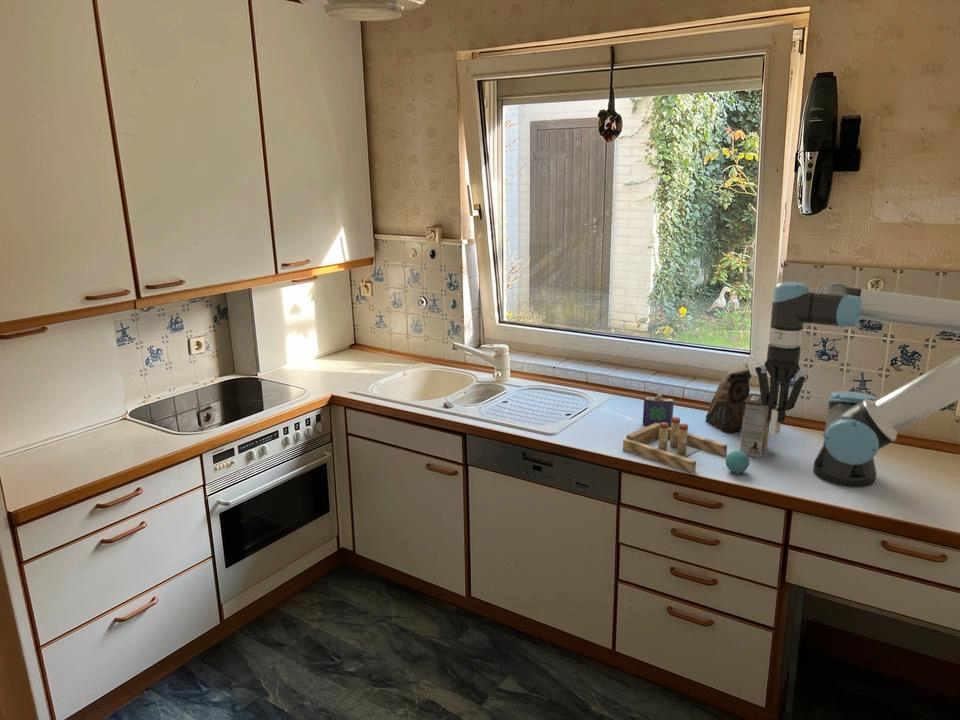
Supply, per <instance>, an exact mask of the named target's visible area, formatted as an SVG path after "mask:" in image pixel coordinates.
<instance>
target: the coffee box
mask: <svg viewBox="0 0 960 720" xmlns="http://www.w3.org/2000/svg"><path fill="white" fill-rule="evenodd" d="M768 410H769V408H768V406H766V405H763V404H762V401H761V393H752V392H751V393H750V392H749V396H748V397H747V399H746V400H745V402H744V412H743V423H742V430H741V435H740V444H739V445H740V447H739V451H741V452H743V453H745V454H746V455H747V456H751V457H756V458H763V457H764V455H765V452H766V450H767V448H768V445H769V436H770V435H769V431H770V422H771V420H768Z"/></svg>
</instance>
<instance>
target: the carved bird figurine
mask: <svg viewBox="0 0 960 720" xmlns="http://www.w3.org/2000/svg"><path fill="white" fill-rule="evenodd" d="M748 365H749V364H748V363H747V362H746V363H742V364H741V365H738V366H735V367H733V368H732V369H731V370H730V371H728V372H727V373H726V374H724V376H723V377H722V379H721V381H720V382H719V384H718V387H717V388H716V390H715V393H714V395H713V397H712V399H711V401H710V404H709V408H708V410H707V413H706V415H705V420H704V421H705V422H704V423H706V422H707V424H708V423H709V425H710V424H711V426H712V427H714V428H715V429H717V430H719V429H720V430H719V431H721V432H723V433H726V434H729V433H730V434H731V435H732V434H737V433H742V430H741V429H742V423H743V412H744V402H745V400H746V399H747V397H748V396H749V394H750V391H751V388H750V379H751V378H752V374H751V372H750V371H751V370H750V369H749V367H748ZM730 434H729V435H730Z"/></svg>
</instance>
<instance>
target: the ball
mask: <svg viewBox="0 0 960 720" xmlns="http://www.w3.org/2000/svg"><path fill="white" fill-rule="evenodd" d="M725 466H726V467H727V469H728V470H729V472H732V473H734V474H741V473H744V472H746V470H748V467H749V466H750V460H749V456H748V455H746V454H745V453H743V452H741V451H740V450H733V451H731V452H729V453H728V454H727V455H726V458H725Z"/></svg>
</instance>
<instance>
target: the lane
mask: <svg viewBox="0 0 960 720" xmlns="http://www.w3.org/2000/svg"><path fill="white" fill-rule="evenodd" d="M659 430H660V424H659V423H654V424H651V425H649V426H644V427H643V428H640V429H637V430H635V431H633V432H630V433H628V434H627V435H626V438H624V439H623V440H622V441H623V442H622V450H624V451H626V450H627V451H626V452H629V451H630V453H632V454H635V453H636V455H638V456H642V457H644V458H647V459H651V460H654V461H657V462H659V463H662V464H665V465H667V464H668V466H670V465H671V466H670V467H673V466H674V468H677V469H679V468H680V469H681V470H682V471H685V472H689V473H691V474H692V473H695V472H696V468H697V460H694V459H690V458H688V457H682V456H679V455H676V454H673V453H670V452H667V451H664V450H661V449H658V447H654V446H651V445H648V444H647V443H650V442H652V441H654V440H656V439H659ZM670 435H671V427H668V440H670ZM687 446H689V447H692V448H695V449H699V450H702V451H706V452H710V453H713V454H716V455H719V456H722V457H725V456H727V455H728V454H727V451H728V444H727V443H723V442H719V441H715V440H712V439H710V438H706V437H703V436H699V435H695V434H693V433H689V432H688V434H687ZM680 469H679V470H680Z"/></svg>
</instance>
